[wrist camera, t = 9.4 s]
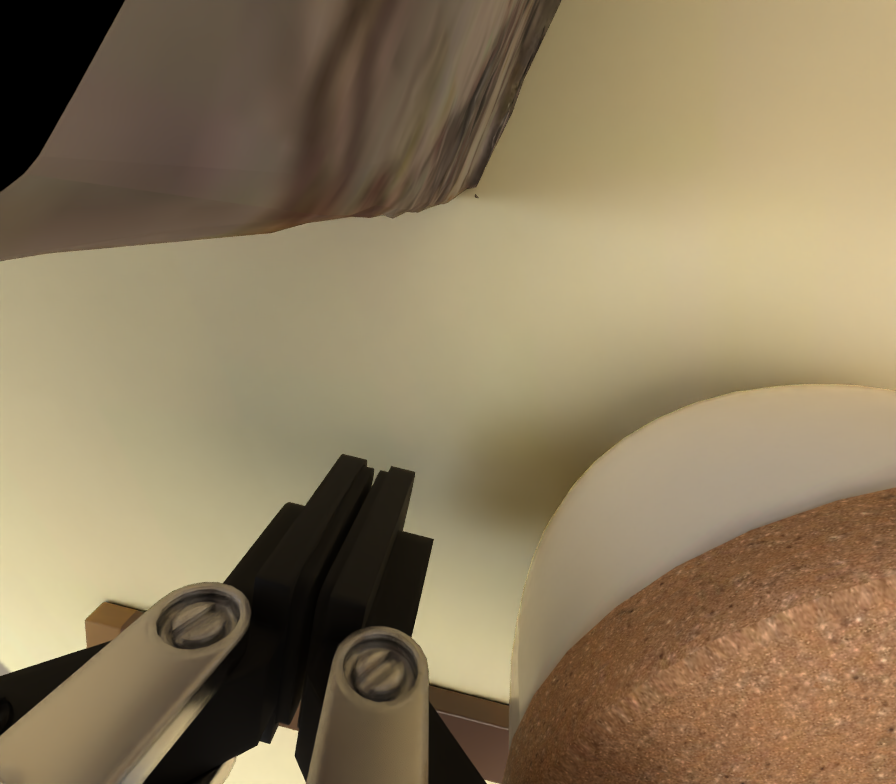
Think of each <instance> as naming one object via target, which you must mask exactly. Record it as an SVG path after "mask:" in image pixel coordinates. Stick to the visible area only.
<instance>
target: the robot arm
mask: <svg viewBox="0 0 896 784" xmlns="http://www.w3.org/2000/svg"><path fill="white" fill-rule="evenodd" d="M373 476H374V468H370V467H367V460H365V459H361V458H357V457H353V456H349V455H345V454H342V455H341V456H340V457H339V459H338V460H337V461H336V463H335V464H334V466H333V467H332V468H331V470H330V471H329V473H328V474H327V476H326V477H325V478H324V480H323V481H322V483H321V484H320V486H319V487H318V488H317V490H316V491H315V493H314V494H313V495H312V497H311V498H310V500H309V501H308V503H307V504H306V505H305V506H303V505H299V504H295V503H291V502H288V503H286V504H285V505H284V506H283V507H282V508H281V510H280V511H279V512H278V514H277V515H276V516H275V517H274V519H273V520H272V521H271V523H270V524H269V525H268V526H267V528H266V529H265V530H264V531H263V533H262V534H261V535H260V537H259V538H258V539H257V540H256V542H255V543H254V544H253V546H252V547H251V548H250V549H249V551H248V552H247V553H246V555H245V556H244V557H243V558H242V560H241V561H240V562H239V564H238V565H237V566H236V567H235V569H234V570H233V571H232V572H231V574H230V575H229V576H228V578H227V579H226V580H225V581H224V583H219V582H202V583H196V584H191V585H187V586H184V587H182V588H179V589H177V590H174V591H172V592H171V593H169V594H168V595H166V596H165V597H163V598H162V599H160V600H159V601H158V602H157V603H155V604H154V605H153V606H152V607H151V608H150V609H148V610H147V611H146V612H145V613H144V614H143V615H141V616H140V617H139V618H138V619H137V620H136V621H134V622H133V623H132V624H131V625H130V626H128V627H127V628H126V629H125V630H124V631H123V632H121V633H120V634H119V635H118V636H117V637H116V638H114V639H113V640H111V641H108V642H105V643H102V644H99V645H96V646H92V647H89V648H86V649H83V650H80V651H77V652H74V653H71V654H68V655H64V656H61V657H58V658H55V659H52V660H49V661H46V662H43V663H40V664H37V665H33V666H30V667H27V668H24V669H21V670H18V671H15V672H12V673H9V674H6V675H3V676H0V784H223V783H224V782H225V780H226V779H227V777H228V776H229V774H230V772H231V770H232V768H233V766H234V764H235V762H236V756H238V755H240V754H242V753H244V752H246V751H247V750H249V749H251V748H253V747H255V746H257V745H258V743H259V741H261V742H265V743H268V744H270V743H271V741H272V738H273V736H274V734H275V732H276V730H277V727H278V725H279V723H282V724H285V725H290V723H291V722H292V720H293V717H294V715H295V713H296V710H297V708H298V706H299V703H300V701H301V704H300V710H299V717H298V723H297V728H299V732H298V738H297V744H296V751H295V758H296V760H297V762H298V765H299V767H300V769H301V772H302V774H303V776H304V779H305V781H306V784H487V783H486V782H485V781H484V779H483V778H482V776H481V775H480V773H479V772H478V770H477V769H476V768H475V766H474V765H473V763H472V762H471V760H470V759H469V757H468V756H467V755H466V753H465V752H464V750H463V749H462V747H461V746H460V745H459V743H458V742H457V740H456V739H455V737H454V736H453V734H452V733H451V732H450V730H449V729H448V727H447V726H446V724H445V723H444V721H443V720H442V719H441V717H440V716H439V714H438V713H437V711H436V710H435V709H434V707H433V706H432V704H431V703H430V701H429V670H428V664H427V658H426V657H425V655H424V653H423V651H422V649H421V647H420V646H419V645H418V644H417V643H416V642H415V641H414V640H413V639H412V638H411V637H412V633H413V628H414V624H415V620H416V615H417V611H418V606H419V602H420V598H421V593H422V589H423V585H424V580H425V576H426V571H427V567H428V563H429V558H430V554H431V550H432V545H433V541H434V539H431V538H427V537H423V536H419V535H415V534H411V533H408V532H404V531H403V527H404V523H405V518H406V514H407V509H408V505H409V500H410V496H411V491H412V487H413V482H414V478H415V472H413V471H409V470H405V469H401V468H397V467H393V466H391V468H390V470H389V472H386V471H382V470H380V472H379V473H378V475H377V477H376V479H375V481H374V483H373V485H372V482H373Z"/></svg>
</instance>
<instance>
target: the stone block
mask: <svg viewBox="0 0 896 784" xmlns="http://www.w3.org/2000/svg"><path fill="white" fill-rule="evenodd" d="M560 2H561V0H0V261H4V260H10V259H16V258H23V257H29V256H35V255H41V254H47V253H57V252H68V251H79V250H90V249H101V248H112V247H123V246H134V245H145V244H156V243H167V242H178V241H189V240H200V239H211V238H222V237H233V236H244V235H255V234H266V233H273V232H276V231H280V230H284V229H287V228H291V227H294V226H298V225H302V224H305V223H311V222H318V221H325V220H332V219H339V218H345V217H366V218H371V217H375V216H380V215H385V216H388V217H390V218H395V217H397V216H399V215H401V214H403V213H405V212H417V213H418V212H420V211H423V210H425V209H427V208H430V207H433V206H436V205H439V204H445V203H448V202H449V201H450V200H452V199H453V198H455V197H456V196H457V195H459V194H460V193H461V192H463V191H464V190H465V189H468V188H474V187H476V186H477V184H478V182H479V180H480V178H481V176H482V174H483V172H484V169H485V167H486V165H487V163H488V160H489V158H490V156H491V154H492V152H493V150H494V148H495V146H496V144H497V142H498V140H499V138H500V136H501V134H502V132H503V130H504V128H505V126H506V124H507V122H508V120H509V118H510V116H511V114H512V112H513V109H514V106H515V103H516V100H517V98H518V95H519V92H520V89H521V86H522V83H523V81H524V78H525V76H526V74H527V72H528V70H529V68H530V65H531V63H532V61H533V59H534V57H535V55H536V53H537V51H538V49H539V47H540V44H541V42H542V40H543V38H544V36H545V34H546V32H547V30H548V28H549V26H550V23H551V21H552V19H553V17H554V15H555V13H556V11H557V9H558V7H559V4H560ZM475 197H476V198H478V197H477V195H476V194H475Z"/></svg>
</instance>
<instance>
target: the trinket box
mask: <svg viewBox="0 0 896 784" xmlns="http://www.w3.org/2000/svg"><path fill="white" fill-rule="evenodd" d="M502 784H896V390H888V389H881V388H874V387H866V386H859V385H852V384H796V385H784V386H774V387H766V388H759V389H752V390H744V391H737V392H732V393H728V394H724V395H721V396H717V397H713V398H710V399H706V400H702V401H699V402H695V403H692V404H690V405H687V406H685V407H683V408H680V409H678V410H676V411H673V412H671V413H668V414H666V415H664V416H661V417H659V418H657V419H655V420H653V421H652V422H650V423H648V424H646V425H645V426H643V427H641V428H640V429H638V430H636V431H635V432H633V433H631V434H630V435H628V436H626V437H625V438H623V439H622V440H621V441H619V442H618V443H617V444H616V445H614V446H613V447H612V448H611V449H609V450H608V451H607V452H606V453H604V454H603V455H602V456H601V457H599V458H598V459H597V460H596V461H595V462H594V463H593V464H592V465H591V466H590V467H589V468H588V469H587V470H586V472H585V473H584V474H583V475H582V476H581V477H580V478H579V479H578V480H577V481H576V482H575V483H574V485H573V486H572V487H571V489H570V490H569V492H568V493H567V495H566V496H565V498H564V499H563V501H562V503H561V504H560V506H559V507H558V509H557V510H556V512H555V513H554V515H553V516H552V518H551V520H550V521H549V523H548V524H547V526H546V527H545V530H544V532H543V534H542V537H541V539H540V541H539V544H538V546H537V548H536V551H535V553H534V555H533V558H532V561H531V565H530V568H529V571H528V575H527V578H526V582H525V585H524V589H523V594H522V598H521V603H520V608H519V612H518V617H517V623H516V630H515V636H514V643H513V650H512V657H511V674H510V699H509V755H508V759H507V763H506V767H505V772H504V776H503V780H502Z"/></svg>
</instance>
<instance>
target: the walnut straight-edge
mask: <svg viewBox="0 0 896 784" xmlns="http://www.w3.org/2000/svg"><path fill="white" fill-rule="evenodd" d="M144 613H145V612H141V611H138V610H135V609H131V608H127V607H123V606H119V605H115V604H111V603H108V602H104V603H102V604H101V605H100V606H99V607H98V608H97V609H96V610H95V611H94V612H93V613H92V614H91V615H90V616H89V617H87V618H86V620H85V629H86V642H87V648H89V647H92V646H96V645H99V644H102V643H105V642H108V641H111V640H113V639H114V638H116V637H117V636H118V635H119V634H120V633H121V632H123V631H124V630H125V629H126V628H127V627H128V626H130V625H131V624H132V623H133V622H134V621H136V620H137V619H138V618H139V617H140V616H141V615H143V614H144ZM429 701H430V703H431V704H432V706H433V707H434V709H435V710H436V711H437V713H438V714H439V716H440V717H441V719H442V720H443V721H444V723H445V724H446V726H447V727H448V729H449V730H450V732H451V733H452V734H453V736H454V737H455V739H456V740H457V742H458V743H459V745H460V746H461V747H462V749H463V750H464V752H465V753H466V755H467V756H468V757H469V759H470V760H471V762H472V763H473V765H474V766H475V768H476V769H477V770H478V772H479V773H480V775H481V776H482V778H483V779H484V780H488V781H491V782H495V783H499V784H502V780H503V776H504V772H505V767H506V763H507V759H508V755H509V706H508V705H504V704H501V703H497V702H493V701H489V700H485V699H481V698H477V697H473V696H469V695H465V694H461V693H458V692H454V691H450V690H446V689H442V688H438V687H434V686H430V685H429ZM300 704H301V701H300V703H299V706H298V708H297V710H296V713H295V715H294V717H293V720H292V722H291V723H290V725H285V724H282V723H279V725H278V726H282V727H286V728H289V729H293V730H297V731H299V728H297V723H298V717H299V710H300Z"/></svg>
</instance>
